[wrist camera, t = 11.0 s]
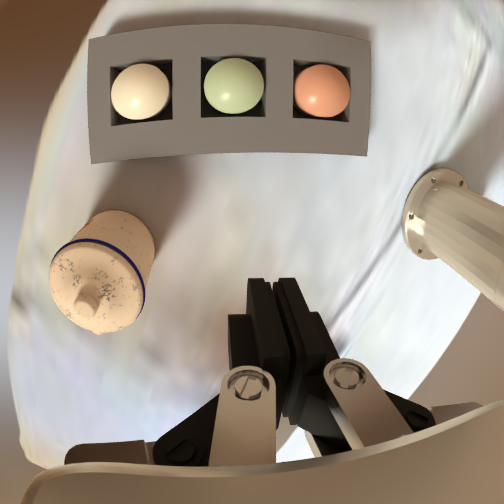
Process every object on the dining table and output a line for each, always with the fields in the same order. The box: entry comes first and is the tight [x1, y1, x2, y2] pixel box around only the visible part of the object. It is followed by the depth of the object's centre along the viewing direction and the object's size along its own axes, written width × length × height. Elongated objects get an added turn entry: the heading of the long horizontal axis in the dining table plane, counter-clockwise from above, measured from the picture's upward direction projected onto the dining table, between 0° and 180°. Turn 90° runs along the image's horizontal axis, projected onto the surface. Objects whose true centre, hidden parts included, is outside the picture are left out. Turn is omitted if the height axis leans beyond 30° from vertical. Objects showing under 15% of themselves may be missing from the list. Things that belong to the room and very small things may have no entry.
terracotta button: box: [293, 64, 350, 117], centre depth 25 cm, size 5×5×3 cm
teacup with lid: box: [49, 210, 155, 335], centre depth 26 cm, size 12×9×12 cm
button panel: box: [87, 24, 371, 164], centre depth 24 cm, size 26×12×3 cm, turn 89°
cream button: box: [111, 64, 172, 119], centre depth 23 cm, size 5×5×3 cm
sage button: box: [204, 58, 264, 114], centre depth 24 cm, size 5×5×3 cm
